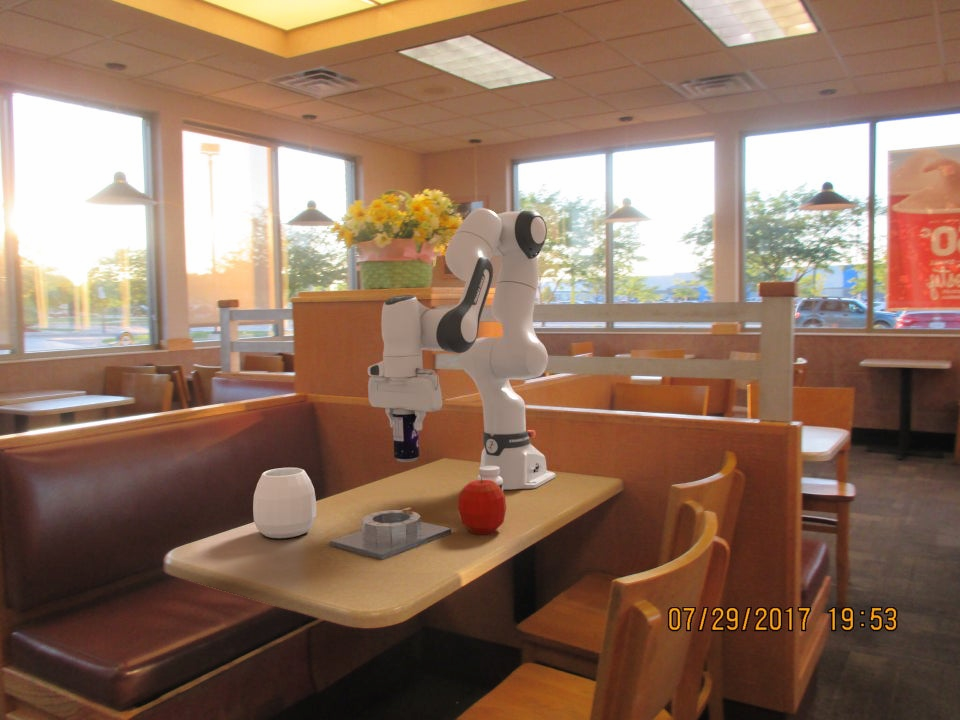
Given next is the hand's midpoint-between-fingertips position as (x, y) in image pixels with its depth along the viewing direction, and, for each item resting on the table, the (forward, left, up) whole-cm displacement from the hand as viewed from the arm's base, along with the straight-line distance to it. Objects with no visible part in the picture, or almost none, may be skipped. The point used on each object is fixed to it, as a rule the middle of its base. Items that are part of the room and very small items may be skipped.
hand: (406, 428), depth 171 cm
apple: (-1, +21, -20) cm, 29 cm away
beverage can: (0, 0, -7) cm, 7 cm away
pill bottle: (-11, +15, -20) cm, 28 cm away
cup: (+24, -13, -20) cm, 34 cm away
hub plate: (+14, +9, -20) cm, 26 cm away
